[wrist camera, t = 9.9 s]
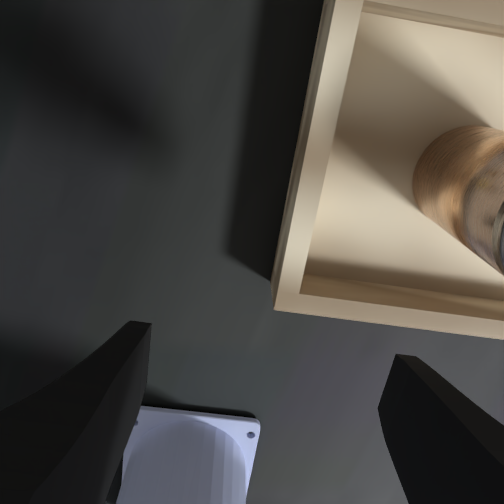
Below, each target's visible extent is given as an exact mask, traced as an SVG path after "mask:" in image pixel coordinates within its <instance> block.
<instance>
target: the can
mask: <svg viewBox="0 0 504 504" xmlns="http://www.w3.org/2000/svg"><path fill="white" fill-rule="evenodd" d="M412 189H413V195H414V199H415V201H416V204H417V206H418V207H419V209H420V210H421V211H422V213H423V214H424V215H426V216H427V217H428V218H429V219H430V220H432V221H433V222H434V223H436V224H437V225H438V226H439V227H441V228H442V229H443V230H445V231H446V232H447V233H449V234H450V235H451V236H452V237H454V238H455V239H456V240H458V241H459V242H460V243H462V244H463V245H464V246H465V247H467V248H468V249H469V250H471V251H472V252H473V253H474V254H476V255H477V256H478V257H480V258H481V259H482V260H484V261H485V262H486V263H487V264H489V265H490V266H491V267H493V268H494V269H495V270H496V271H498V272H499V273H500V274H502V275H503V276H504V131H503V130H498V129H494V128H489V127H484V126H478V125H467V126H461V127H457V128H454V129H452V130H449V131H447V132H445V133H444V134H442V135H440V136H439V137H438V138H436V139H435V140H434V141H433V142H432V143H430V145H429V146H428V147H427V148H426V149H425V150H424V152H423V153H422V155H421V156H420V158H419V160H418V162H417V164H416V167H415V170H414V173H413V180H412Z"/></svg>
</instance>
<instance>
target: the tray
mask: <svg viewBox="0 0 504 504" xmlns="http://www.w3.org/2000/svg"><path fill="white" fill-rule="evenodd" d="M467 125H478V126H484V127H489V128H494V129H498V130H503V131H504V0H324V4H323V9H322V14H321V19H320V24H319V30H318V35H317V40H316V45H315V51H314V56H313V61H312V66H311V72H310V77H309V82H308V87H307V93H306V98H305V103H304V108H303V113H302V119H301V124H300V129H299V134H298V140H297V145H296V150H295V155H294V161H293V166H292V171H291V176H290V181H289V187H288V192H287V197H286V202H285V208H284V213H283V218H282V223H281V229H280V234H279V239H278V244H277V250H276V255H275V260H274V265H273V270H272V276H271V281H270V283H271V291H272V299H273V306H274V310H278V311H286V312H294V313H301V314H309V315H317V316H325V317H332V318H340V319H348V320H356V321H363V322H371V323H379V324H386V325H394V326H402V327H410V328H417V329H425V330H433V331H440V332H448V333H456V334H464V335H471V336H479V337H487V338H494V339H502V340H504V276H503V275H502V274H500V273H499V272H498V271H496V270H495V269H494V268H493V267H491V266H490V265H489V264H487V263H486V262H485V261H484V260H482V259H481V258H480V257H478V256H477V255H476V254H474V253H473V252H472V251H471V250H469V249H468V248H467V247H465V246H464V245H463V244H462V243H460V242H459V241H458V240H456V239H455V238H454V237H452V236H451V235H450V234H449V233H447V232H446V231H445V230H443V229H442V228H441V227H439V226H438V225H437V224H436V223H434V222H433V221H432V220H430V219H429V218H428V217H427V216H426V215H424V214H423V213H422V211H421V210H420V209H419V207H418V206H417V204H416V201H415V199H414V195H413V189H412V180H413V173H414V170H415V167H416V164H417V162H418V160H419V158H420V156H421V155H422V153H423V152H424V150H425V149H426V148H427V147H428V146H429V145H430V143H432V142H433V141H434V140H435V139H436V138H438V137H439V136H440V135H442V134H444V133H445V132H447V131H449V130H452V129H454V128H457V127H461V126H467Z"/></svg>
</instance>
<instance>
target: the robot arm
mask: <svg viewBox="0 0 504 504" xmlns="http://www.w3.org/2000/svg"><path fill="white" fill-rule="evenodd" d="M151 325H152V323H145V322H137V321H129V322H128V323H126V324H125V325H124V326H123V327H122V328H121V329H119V330H118V331H117V332H116V333H115V334H114V335H113V336H112V337H111V338H110V339H108V340H107V341H106V342H105V343H104V344H103V345H101V346H100V347H99V348H98V349H97V350H95V351H94V352H93V353H92V354H91V355H89V356H88V357H87V358H86V359H84V360H83V361H82V362H80V363H79V364H78V365H76V366H75V367H74V368H72V369H71V370H70V371H68V372H67V373H65V374H64V375H63V376H61V377H60V378H58V379H57V380H55V381H54V382H52V383H51V384H49V385H48V386H46V387H44V388H43V389H41V390H39V391H38V392H36V393H34V394H33V395H31V396H29V397H27V398H26V399H24V400H22V401H20V402H18V403H16V404H14V405H12V406H10V407H8V408H6V409H4V410H2V411H0V504H105V501H106V498H107V495H108V492H109V489H110V486H111V484H112V481H113V479H114V476H115V473H116V471H117V468H118V466H119V463H120V461H121V458H122V455H123V469H122V485H121V488H120V491H119V495H118V498H117V501H116V504H246V495H247V490H248V485H249V480H250V476H251V471H252V466H253V461H254V457H255V452H256V447H257V442H258V438H259V433H260V422H259V421H258V420H257V419H255V418H248V417H239V416H230V415H221V414H212V413H203V412H194V411H184V410H175V409H166V408H157V407H148V406H141V403H142V399H143V395H144V391H145V387H146V383H147V375H148V362H149V350H150V338H151ZM378 412H379V417H380V422H381V426H382V430H383V434H384V438H385V442H386V445H387V447H388V450H389V453H390V456H391V458H392V461H393V464H394V466H395V469H396V472H397V474H398V477H399V479H400V482H401V485H402V487H403V490H404V492H405V495H406V498H407V500H408V503H409V504H504V425H502V424H501V423H500V422H498V421H497V420H495V419H494V418H493V417H491V416H490V415H489V414H487V413H486V412H485V411H484V410H482V409H481V408H480V407H479V406H477V405H476V404H475V403H473V402H472V401H471V400H470V399H469V398H467V397H466V396H465V395H464V394H462V393H461V392H460V391H459V390H458V389H456V388H455V387H454V386H453V385H451V384H450V383H449V382H448V381H447V380H445V379H444V378H443V377H442V376H441V375H439V374H438V373H437V372H436V371H435V370H433V369H432V368H431V367H430V366H428V365H427V364H426V363H424V362H423V361H422V360H420V359H419V358H417V357H416V356H409V355H401V354H396V355H395V358H394V361H393V364H392V367H391V370H390V373H389V376H388V379H387V382H386V385H385V388H384V391H383V394H382V397H381V400H380V403H379V406H378ZM136 420H137V421H136ZM248 432H254V433H251V434H250V433H248Z"/></svg>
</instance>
